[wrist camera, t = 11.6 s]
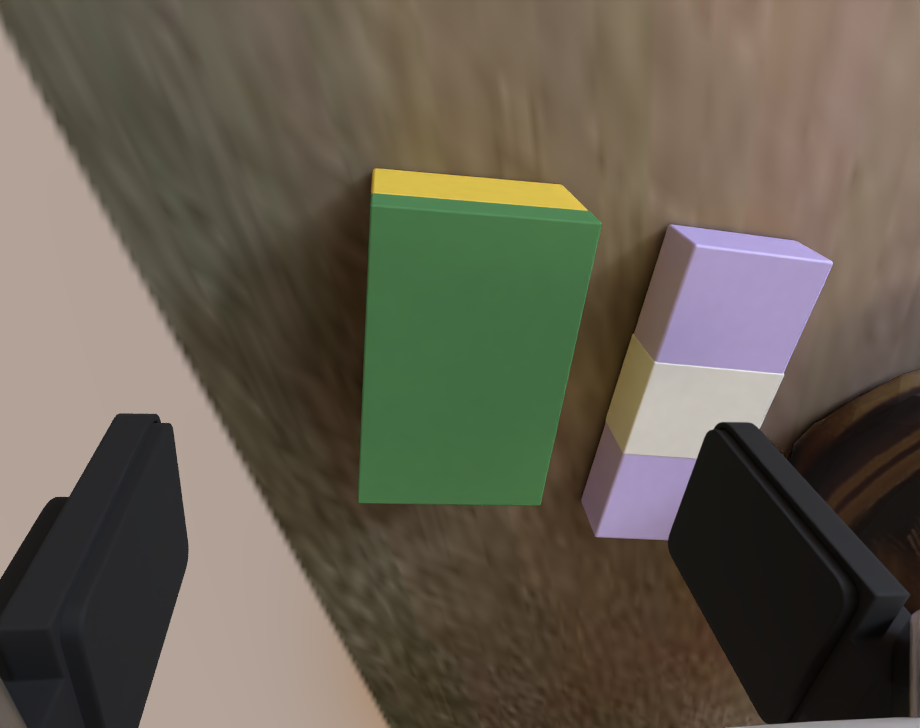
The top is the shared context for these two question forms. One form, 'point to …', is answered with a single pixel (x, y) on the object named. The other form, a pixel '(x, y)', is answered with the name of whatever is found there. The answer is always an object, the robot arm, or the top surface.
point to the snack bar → (696, 367)
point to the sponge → (468, 335)
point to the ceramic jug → (873, 473)
